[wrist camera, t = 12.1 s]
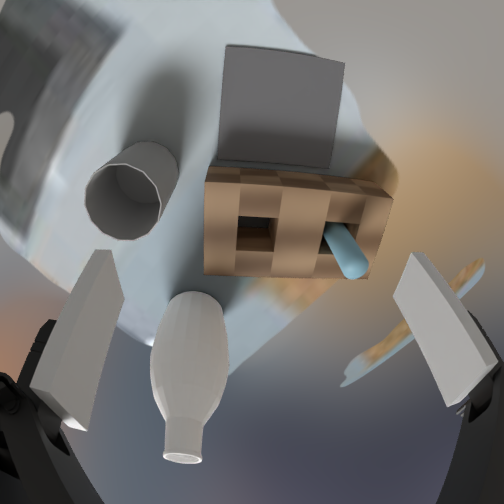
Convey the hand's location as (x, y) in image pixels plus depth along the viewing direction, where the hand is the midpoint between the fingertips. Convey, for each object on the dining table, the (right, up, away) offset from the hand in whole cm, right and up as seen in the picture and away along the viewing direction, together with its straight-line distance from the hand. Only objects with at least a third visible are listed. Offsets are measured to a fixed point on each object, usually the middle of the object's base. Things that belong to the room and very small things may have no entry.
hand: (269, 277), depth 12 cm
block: (+4, +6, +27) cm, 28 cm away
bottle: (-10, -8, +35) cm, 38 cm away
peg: (+9, +6, +27) cm, 30 cm away
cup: (-14, +11, +23) cm, 29 cm away
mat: (+3, +18, +19) cm, 26 cm away
